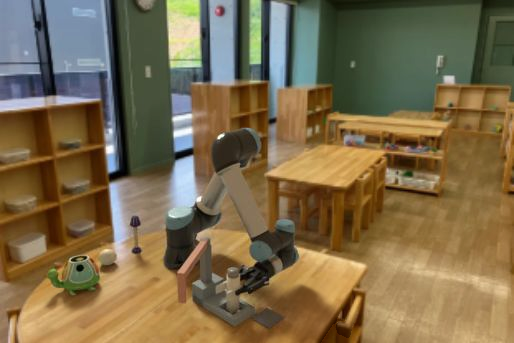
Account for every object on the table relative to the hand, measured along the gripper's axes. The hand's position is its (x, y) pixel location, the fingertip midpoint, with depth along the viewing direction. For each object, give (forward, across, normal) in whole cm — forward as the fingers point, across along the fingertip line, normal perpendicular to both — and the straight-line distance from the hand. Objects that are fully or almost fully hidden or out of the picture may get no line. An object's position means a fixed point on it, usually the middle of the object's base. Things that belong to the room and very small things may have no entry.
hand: (221, 293), depth 139 cm
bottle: (-5, 0, -8) cm, 10 cm away
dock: (-5, +5, -10) cm, 13 cm away
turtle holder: (+25, +54, -11) cm, 60 cm away
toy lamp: (-7, +64, -11) cm, 65 cm away
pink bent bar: (+4, +8, +3) cm, 10 cm away
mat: (-11, -11, -10) cm, 19 cm away
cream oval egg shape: (+8, +62, -11) cm, 63 cm away
